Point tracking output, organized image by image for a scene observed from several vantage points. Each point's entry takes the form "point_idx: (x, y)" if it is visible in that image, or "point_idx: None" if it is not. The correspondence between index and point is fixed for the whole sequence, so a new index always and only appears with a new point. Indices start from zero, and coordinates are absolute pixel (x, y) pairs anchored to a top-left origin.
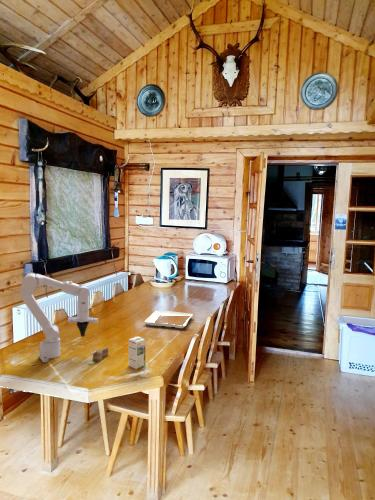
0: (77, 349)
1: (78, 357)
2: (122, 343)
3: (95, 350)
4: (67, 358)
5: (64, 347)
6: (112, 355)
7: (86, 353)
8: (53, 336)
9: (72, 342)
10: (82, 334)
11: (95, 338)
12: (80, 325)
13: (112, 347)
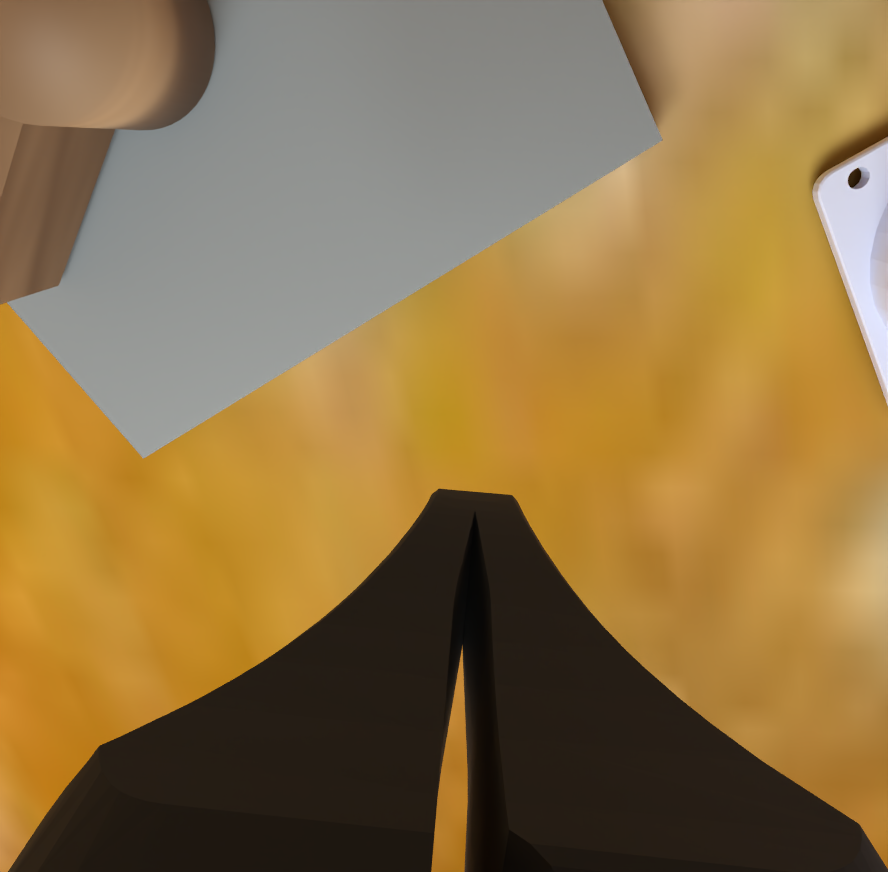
0: (591, 546)
1: (532, 245)
2: (48, 696)
3: (91, 66)
4: (722, 199)
5: (788, 613)
6: (14, 327)
7: (431, 406)
8: None
9: None
10: (466, 517)
11: None
12: (566, 807)
13: (124, 593)
